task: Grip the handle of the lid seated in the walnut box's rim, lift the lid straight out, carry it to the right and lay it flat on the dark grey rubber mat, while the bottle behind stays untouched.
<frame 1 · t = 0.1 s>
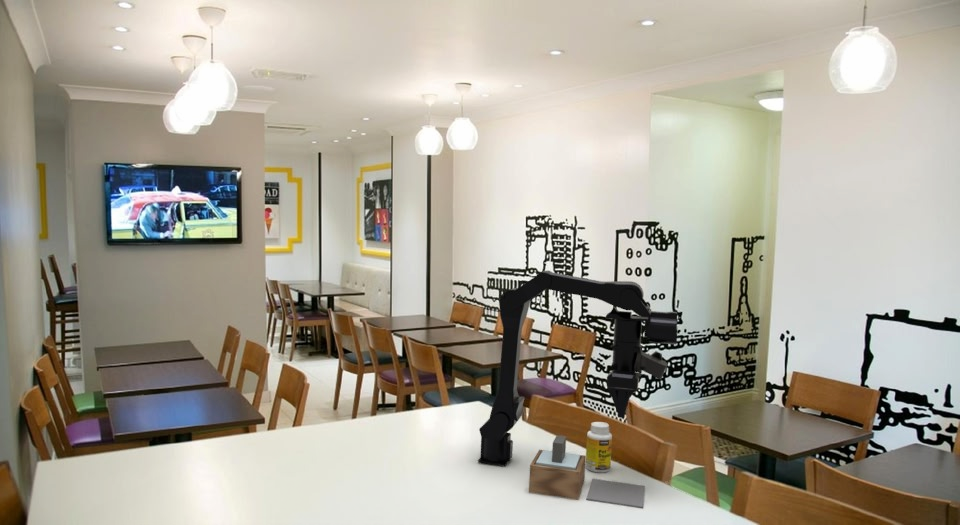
hand: (623, 411, 142), 15 cm above the table, tool pointing down, fingers open, 9 cm apart
lid: (558, 463, 136), point 5 cm above the table, touching walnut box
mat: (616, 493, 134), on the table
walnut box: (557, 486, 137), on the table
supplement bottle: (597, 469, 148), on the table
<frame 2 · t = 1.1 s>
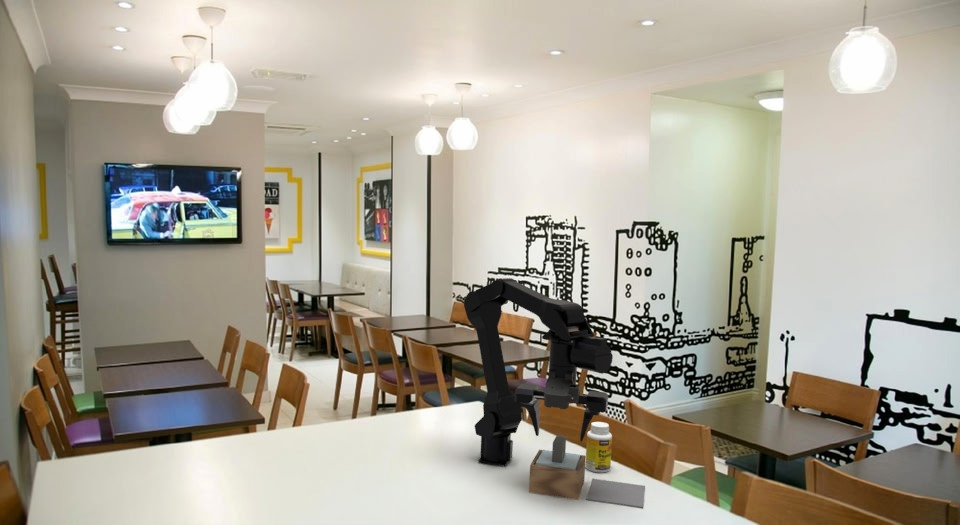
hand: (559, 438, 136), 10 cm above the table, tool pointing down, fingers open, 9 cm apart
nothing on the table moved.
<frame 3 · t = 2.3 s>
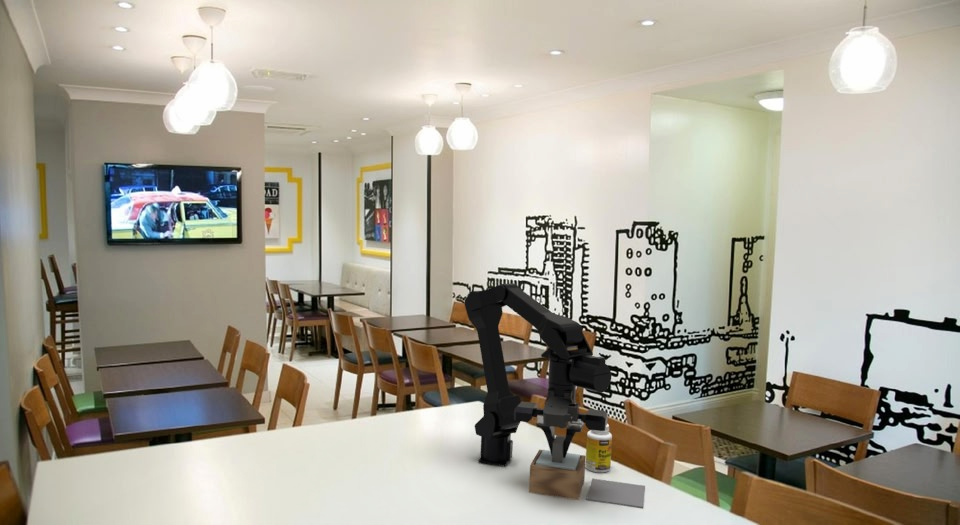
hand: (558, 456, 136), 6 cm above the table, tool pointing down, fingers closed on lid
lid: (558, 463, 136), point 5 cm above the table, touching gripper, walnut box
everything else where it was.
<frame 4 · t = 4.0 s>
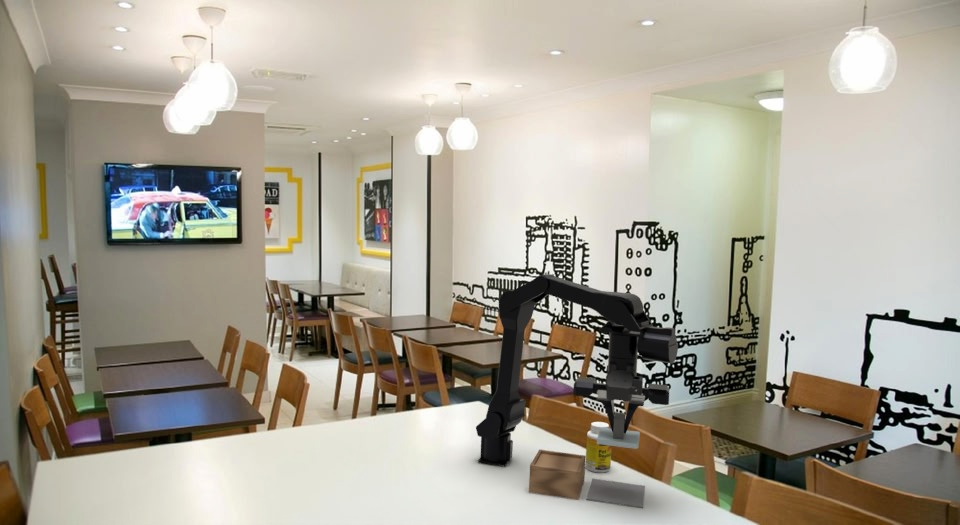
hand: (619, 432, 134), 13 cm above the table, tool pointing down, fingers closed on lid
lid: (618, 440, 133), point 11 cm above the table, touching gripper
everything else where it was.
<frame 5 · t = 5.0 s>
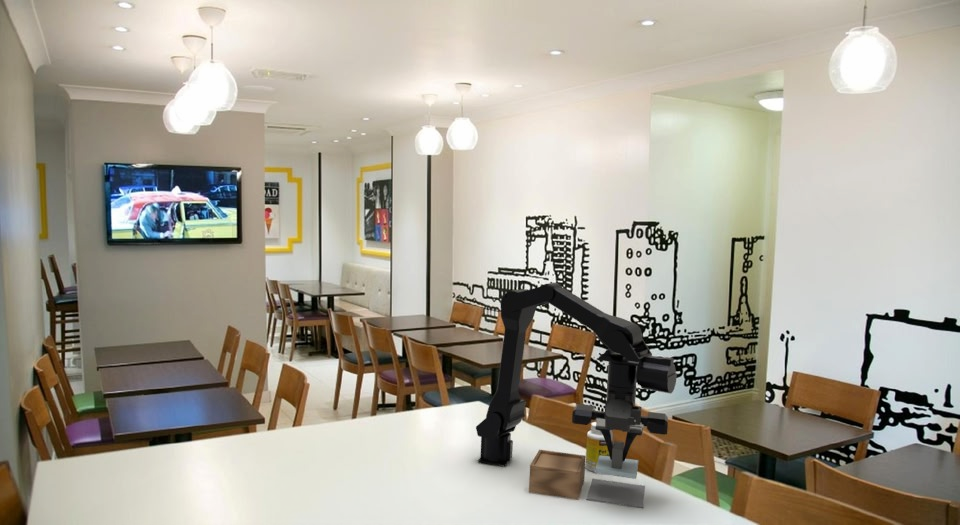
hand: (617, 460, 134), 7 cm above the table, tool pointing down, fingers closed on lid
lid: (617, 469, 134), point 5 cm above the table, touching gripper
everything else where it was.
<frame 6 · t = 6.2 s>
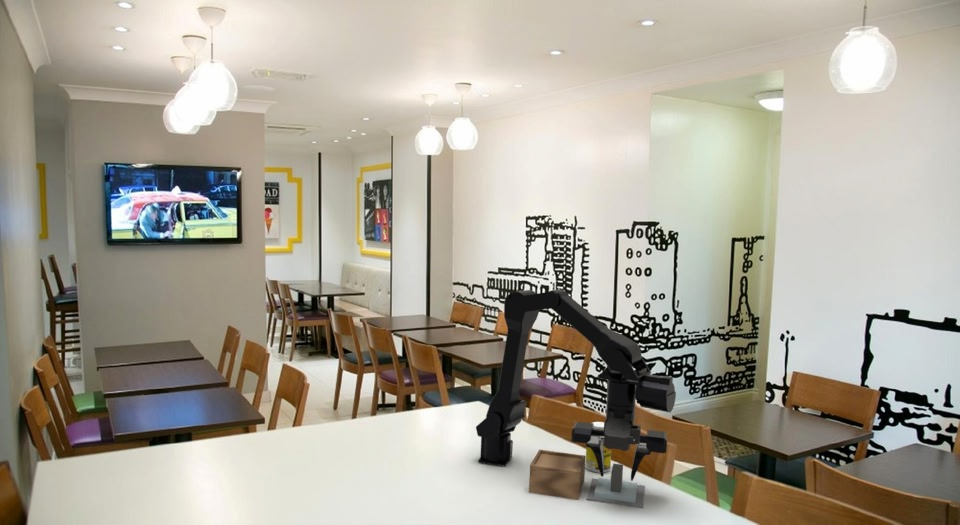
hand: (616, 478, 134), 3 cm above the table, tool pointing down, fingers open, 6 cm apart
lid: (616, 492, 134), resting on mat
everything else where it was.
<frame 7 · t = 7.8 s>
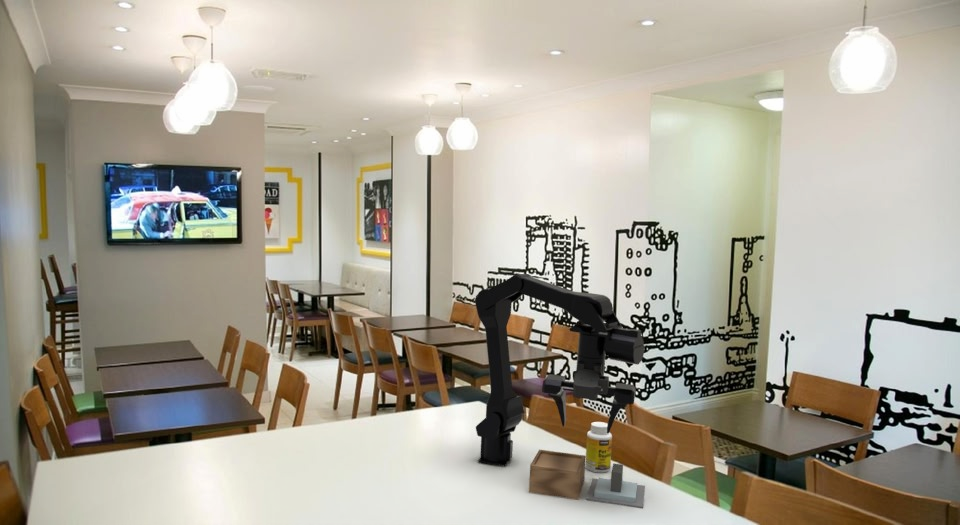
hand: (585, 429, 137), 12 cm above the table, tool pointing down, fingers open, 9 cm apart
nothing on the table moved.
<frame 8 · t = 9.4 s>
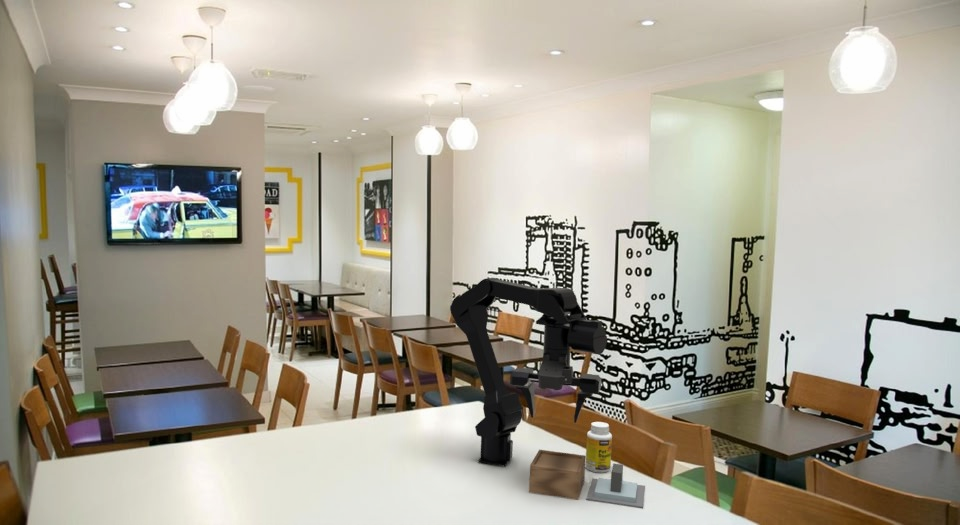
hand: (553, 419, 140), 13 cm above the table, tool pointing down, fingers open, 9 cm apart
nothing on the table moved.
at the end: lid inside the target area (0.2 cm from its centre), resting on mat; lid tilted 0°; the gripper is holding nothing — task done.
